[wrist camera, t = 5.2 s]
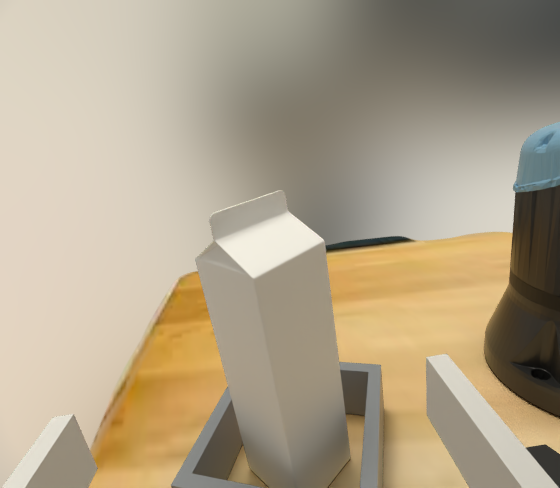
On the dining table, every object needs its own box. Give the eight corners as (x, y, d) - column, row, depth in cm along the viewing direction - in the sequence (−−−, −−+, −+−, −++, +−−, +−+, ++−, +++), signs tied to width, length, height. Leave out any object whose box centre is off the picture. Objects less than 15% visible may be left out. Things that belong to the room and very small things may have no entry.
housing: (383, 408, 31) (380, 364, 30) (381, 586, 20) (376, 530, 18) (254, 395, 35) (245, 355, 34) (189, 534, 24) (170, 485, 22)
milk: (351, 458, 27) (322, 189, 20) (301, 522, 24) (243, 219, 16) (296, 420, 32) (256, 187, 24) (246, 469, 28) (181, 210, 21)
